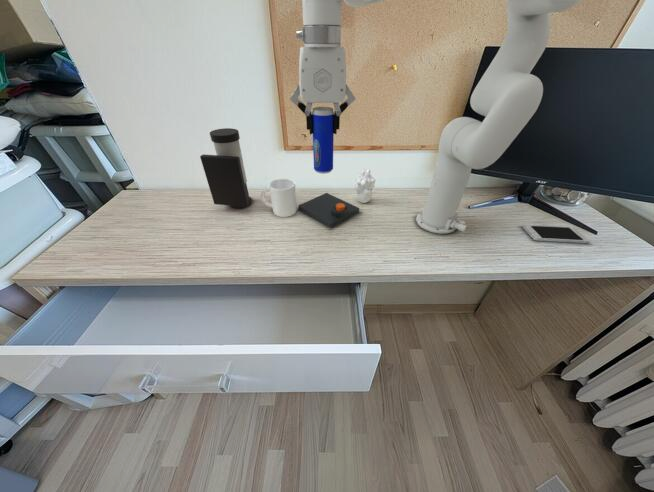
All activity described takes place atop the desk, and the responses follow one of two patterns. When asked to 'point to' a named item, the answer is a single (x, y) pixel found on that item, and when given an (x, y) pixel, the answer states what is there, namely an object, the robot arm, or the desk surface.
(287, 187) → the mug
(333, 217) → the scale
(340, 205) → the tare button
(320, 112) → the beverage can
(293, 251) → the desk surface
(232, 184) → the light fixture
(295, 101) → the robot arm
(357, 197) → the figurine
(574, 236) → the smartphone
